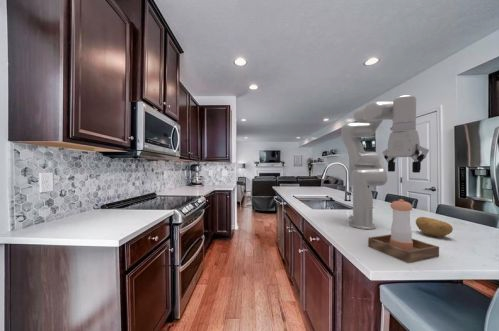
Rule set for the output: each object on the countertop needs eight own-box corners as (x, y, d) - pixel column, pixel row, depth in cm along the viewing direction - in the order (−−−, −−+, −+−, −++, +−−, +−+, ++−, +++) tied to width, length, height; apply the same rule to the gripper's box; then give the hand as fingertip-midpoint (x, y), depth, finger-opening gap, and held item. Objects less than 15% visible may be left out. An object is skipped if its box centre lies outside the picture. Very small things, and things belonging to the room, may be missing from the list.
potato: (444, 241, 93) (445, 223, 93) (410, 232, 107) (410, 216, 107) (458, 239, 97) (458, 221, 97) (423, 230, 110) (423, 214, 110)
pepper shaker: (417, 253, 79) (417, 201, 79) (395, 251, 80) (395, 200, 80) (406, 245, 86) (406, 198, 86) (386, 244, 88) (386, 197, 88)
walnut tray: (368, 246, 88) (368, 237, 88) (396, 241, 93) (396, 233, 93) (408, 262, 73) (408, 252, 73) (439, 256, 78) (439, 246, 78)
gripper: (377, 130, 91) (376, 171, 91) (420, 124, 75) (420, 173, 75) (390, 131, 94) (389, 171, 94) (435, 125, 77) (434, 172, 77)
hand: (403, 171), depth 84 cm, fingers open, 9 cm apart
